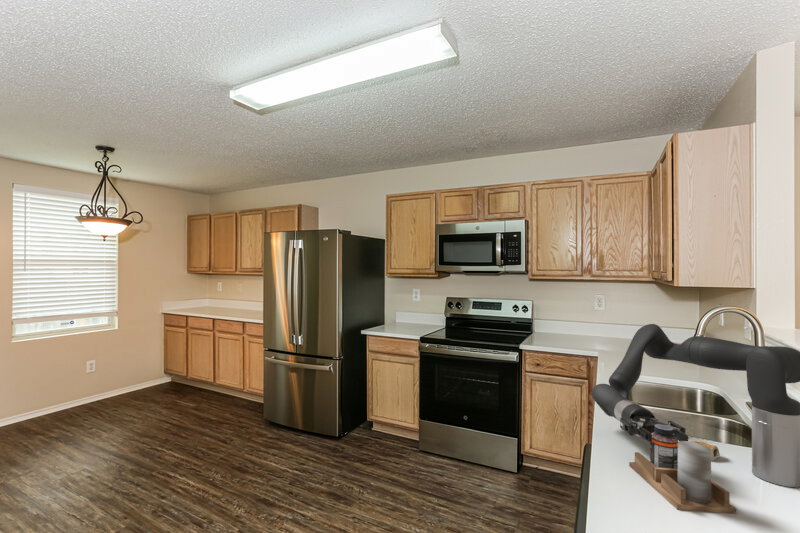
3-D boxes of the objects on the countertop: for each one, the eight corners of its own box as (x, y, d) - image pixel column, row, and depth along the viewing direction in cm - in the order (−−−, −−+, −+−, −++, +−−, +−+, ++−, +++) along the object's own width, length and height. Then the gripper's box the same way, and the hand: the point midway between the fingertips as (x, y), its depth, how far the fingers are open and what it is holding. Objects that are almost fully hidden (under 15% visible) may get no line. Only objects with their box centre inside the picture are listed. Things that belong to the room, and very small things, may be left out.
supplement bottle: (651, 464, 103) (651, 420, 103) (679, 472, 99) (679, 426, 100) (648, 472, 98) (648, 426, 99) (677, 480, 95) (677, 433, 95)
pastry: (674, 450, 115) (674, 437, 116) (683, 445, 119) (683, 433, 119) (713, 463, 108) (713, 449, 108) (721, 457, 112) (722, 444, 112)
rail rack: (676, 468, 103) (676, 422, 104) (736, 513, 83) (736, 456, 84) (629, 465, 104) (629, 420, 104) (677, 509, 84) (677, 452, 84)
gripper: (608, 402, 114) (638, 422, 98) (659, 404, 113) (698, 425, 97) (608, 428, 114) (638, 452, 98) (659, 431, 113) (698, 456, 97)
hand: (668, 438), depth 97 cm, fingers open, 8 cm apart
